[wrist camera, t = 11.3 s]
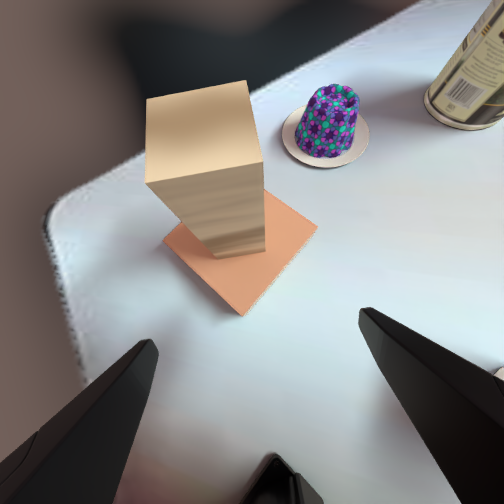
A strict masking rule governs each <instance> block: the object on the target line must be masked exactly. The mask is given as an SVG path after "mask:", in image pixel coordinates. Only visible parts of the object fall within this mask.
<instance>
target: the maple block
mask: <svg viewBox="0 0 504 504" xmlns="http://www.w3.org/2000/svg"><path fill="white" fill-rule="evenodd" d="M145 184H146V185H147V186H148V187H149V188H150V189H151V190H152V191H153V192H154V193H155V194H156V195H157V196H158V197H159V198H160V199H161V201H162V202H163V203H164V204H165V205H166V206H167V207H168V208H169V209H170V210H171V211H172V212H173V213H174V214H175V215H176V216H177V217H178V218H179V219H180V220H181V221H182V222H183V223H184V224H185V226H186V227H187V228H188V229H189V230H190V231H191V232H192V233H193V234H194V235H195V236H196V237H197V238H198V239H199V240H200V241H201V242H202V243H203V244H204V245H205V246H206V247H207V248H208V249H209V251H210V252H211V253H212V254H213V255H214V256H215V257H216V258H217V259H218V260H219V259H225V258H231V257H237V256H243V255H249V254H255V253H261V252H266V249H265V212H264V174H263V159H262V154H261V149H260V144H259V140H258V135H257V130H256V125H255V121H254V116H253V111H252V106H251V102H250V97H249V92H248V88H247V83H246V80H244V81H239V82H234V83H229V84H223V85H218V86H213V87H208V88H203V89H198V90H193V91H187V92H182V93H177V94H172V95H167V96H162V97H156V98H151V99H147V112H146V155H145Z"/></svg>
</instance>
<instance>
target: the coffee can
mask: <svg viewBox="0 0 504 504" xmlns="http://www.w3.org/2000/svg"><path fill="white" fill-rule="evenodd" d="M424 103H425V106H426V108H427V110H428V111H429V113H430V114H431V115H432V116H433V117H435V118H436V119H437V120H439V121H440V122H442V123H444V124H446V125H449V126H451V127H455V128H459V129H465V130H478V129H484V128H488V127H490V126H493V125H494V124H496V123H497V122H499V121H500V120H501V119H502V118H503V117H504V0H492V1H491V3H490V4H489V6H488V7H487V8H486V10H485V11H484V13H483V14H482V15H481V17H480V18H479V20H478V21H477V22H476V24H475V25H474V26H473V28H472V29H471V30H470V32H469V33H468V35H467V36H466V37H465V39H464V40H463V42H462V43H461V44H460V46H459V47H458V49H457V50H456V51H455V53H454V54H453V55H452V57H451V58H450V60H449V61H448V62H447V64H446V65H445V67H444V68H443V69H442V71H441V72H440V73H439V75H438V76H437V78H436V79H435V80H434V82H433V83H432V85H431V86H430V87H429V88H428V89H427V91H426V93H425V95H424Z"/></svg>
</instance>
